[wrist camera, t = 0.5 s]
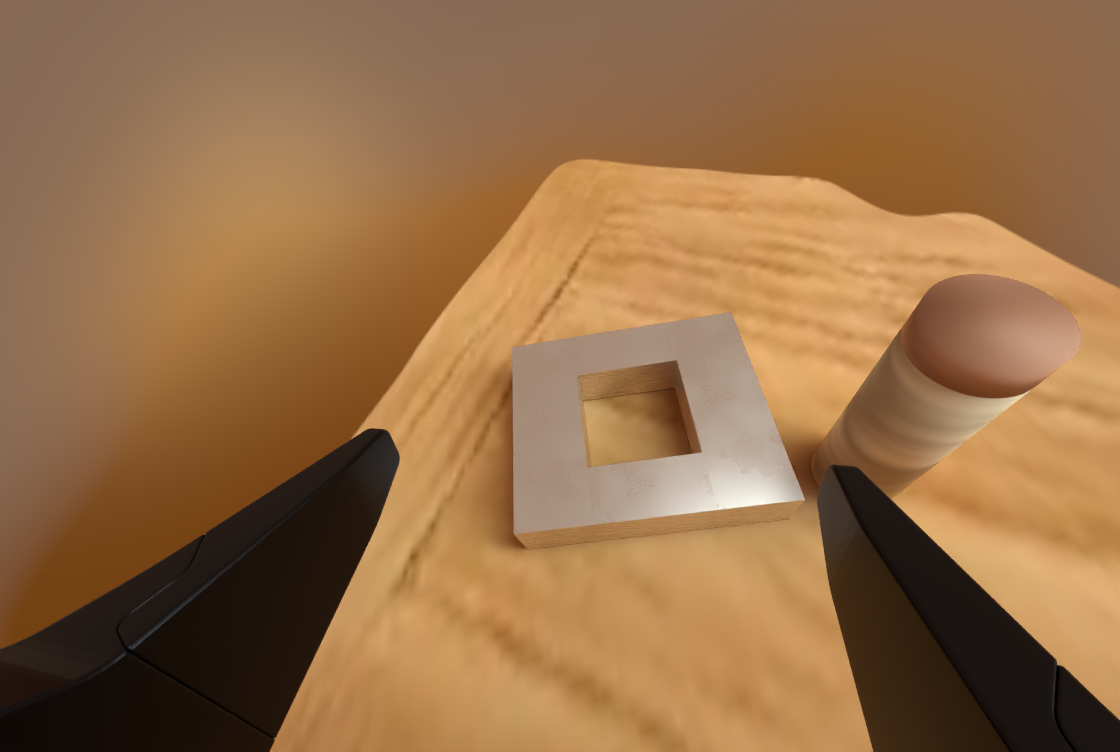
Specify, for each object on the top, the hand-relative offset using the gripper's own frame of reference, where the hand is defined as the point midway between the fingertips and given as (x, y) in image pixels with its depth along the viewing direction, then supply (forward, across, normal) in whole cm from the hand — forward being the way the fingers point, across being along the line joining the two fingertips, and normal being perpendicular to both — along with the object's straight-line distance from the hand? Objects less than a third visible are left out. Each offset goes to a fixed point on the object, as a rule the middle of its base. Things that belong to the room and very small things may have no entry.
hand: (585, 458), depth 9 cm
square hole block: (+14, 0, +13) cm, 19 cm away
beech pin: (+12, -12, +14) cm, 22 cm away
